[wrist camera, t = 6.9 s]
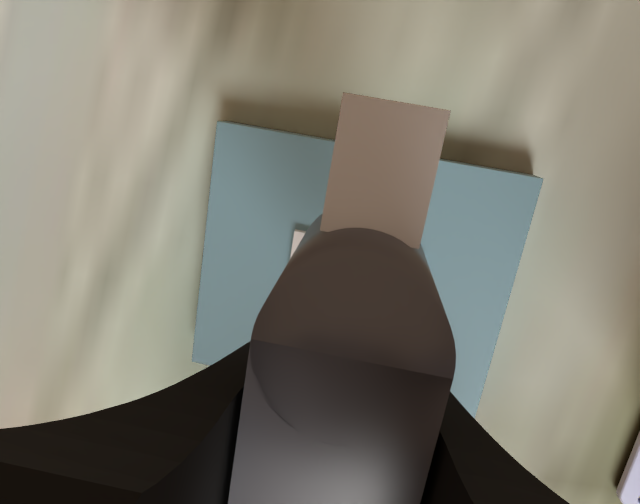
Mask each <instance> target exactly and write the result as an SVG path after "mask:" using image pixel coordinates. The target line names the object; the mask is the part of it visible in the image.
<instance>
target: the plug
mask: <svg viewBox="0 0 640 504" xmlns="http://www.w3.org/2000/svg"><path fill="white" fill-rule="evenodd" d="M449 116H450V110H444V109H438V108H432V107H426V106H421V105H415V104H409V103H403V102H397V101H391V100H385V99H379V98H373V97H368V96H362V95H356V94H350V93H344V92H343V96H342V102H341V108H340V114H339V120H338V126H337V132H336V138H335V143H334V149H333V155H332V161H331V167H330V173H329V179H328V185H327V191H326V197H325V202H324V208H323V213H322V214H321V215H320V216H319V217H318V218H317V219H316V220H315V221H314V222H313V223H312V224H311V225H310V227H309V228H308V229H307V231H306V233H305V234H304V236H303V238H302V240H301V241H300V243H299V245H298V246H297V248H296V250H295V252H294V253H293V255H292V257H291V258H290V260H289V262H288V263H287V265H286V267H285V269H284V270H283V272H282V274H281V275H280V277H279V279H278V281H277V282H276V284H275V286H274V287H273V289H272V291H271V292H270V294H269V296H268V298H267V299H266V301H265V303H264V304H263V306H262V308H261V310H260V312H259V314H258V315H257V318H256V321H255V324H254V326H253V331H252V335H251V341H250V348H249V355H248V362H247V369H246V376H245V384H244V391H243V398H242V405H241V412H240V420H239V427H238V434H237V441H236V448H235V456H234V463H233V470H232V477H231V484H230V492H229V499H228V504H420V502H421V498H422V495H423V491H424V487H425V483H426V480H427V476H428V472H429V468H430V465H431V461H432V457H433V453H434V450H435V446H436V442H437V438H438V435H439V431H440V427H441V423H442V420H443V416H444V412H445V408H446V405H447V401H448V397H449V393H450V390H451V386H452V382H453V378H454V373H455V367H456V349H455V341H454V337H453V333H452V329H451V326H450V324H449V321H448V318H447V315H446V313H445V310H444V307H443V304H442V301H441V299H440V296H439V293H438V290H437V287H436V285H435V282H434V279H433V276H432V274H431V271H430V268H429V265H428V262H427V260H426V257H425V254H424V251H423V249H422V246H421V239H422V234H423V230H424V226H425V221H426V217H427V212H428V208H429V204H430V199H431V195H432V190H433V186H434V182H435V177H436V173H437V169H438V164H439V160H440V155H441V151H442V147H443V142H444V138H445V133H446V129H447V125H448V120H449Z"/></svg>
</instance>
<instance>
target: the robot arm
mask: <svg viewBox="0 0 640 504" xmlns="http://www.w3.org/2000/svg"><path fill="white" fill-rule="evenodd" d="M249 348H250V342H248V343H246V344H245V345H243V346H241V347H240V348H238V349H237V350H235V351H234V352H232V353H230V354H229V355H227V356H226V357H224V358H222V359H221V360H219V361H217V362H216V363H214V364H212V365H211V366H209V367H207V368H206V369H204V370H202V371H200V372H198V373H196V374H194V375H192V376H190V377H188V378H186V379H184V380H182V381H180V382H178V383H176V384H174V385H172V386H170V387H168V388H165V389H163V390H161V391H158V392H156V393H153V394H150V395H148V396H145V397H142V398H140V399H137V400H134V401H131V402H128V403H125V404H121V405H118V406H114V407H111V408H107V409H104V410H100V411H97V412H93V413H90V414H86V415H82V416H77V417H72V418H68V419H63V420H58V421H52V422H47V423H41V424H35V425H29V426H22V427H14V428H5V429H0V504H228V499H229V492H230V484H231V477H232V470H233V463H234V456H235V448H236V441H237V434H238V427H239V420H240V412H241V405H242V398H243V391H244V384H245V376H246V369H247V362H248V355H249ZM616 493H617V496H618V498H619V499H620V501H621V502H622V503H623V504H640V498H639V496H640V431H639V434H638V436H637V439H636V442H635V444H634V447H633V449H632V452H631V454H630V457H629V459H628V462H627V464H626V467H625V469H624V472H623V474H622V477H621V480H620V482H619V485H618V487H617V491H616ZM420 504H569V503H568V502H566V501H565V500H564V499H562V498H561V497H560V496H558V495H557V494H556V493H554V492H553V491H552V490H551V489H549V488H548V487H547V486H546V485H544V484H543V483H542V482H541V481H540V480H538V479H537V478H536V477H535V476H533V475H532V474H531V473H530V472H529V471H527V470H526V469H525V468H524V467H523V466H522V465H520V464H519V463H518V462H517V461H516V460H515V459H514V458H513V457H512V456H511V455H510V454H509V453H508V452H506V451H505V450H504V449H503V448H502V447H501V446H500V445H499V444H498V443H497V442H496V441H495V440H494V439H493V438H492V437H491V436H490V435H489V434H488V433H487V432H486V431H485V430H484V429H483V428H482V426H481V425H480V424H479V423H478V422H477V421H476V420H475V419H474V418H473V417H472V416H471V414H470V413H469V412H468V411H467V410H466V409H465V408H464V407H463V405H462V404H461V403H460V402H459V401H458V400H457V398H456V397H455V396H454V395H453V394H452V393H451V392H450V393H449V397H448V401H447V405H446V408H445V412H444V416H443V420H442V423H441V427H440V431H439V435H438V438H437V442H436V446H435V450H434V453H433V457H432V461H431V465H430V468H429V472H428V476H427V480H426V483H425V487H424V491H423V495H422V498H421V502H420Z"/></svg>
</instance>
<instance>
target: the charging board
mask: <svg viewBox="0 0 640 504" xmlns="http://www.w3.org/2000/svg"><path fill="white" fill-rule="evenodd" d="M334 143H335V140H332V139H326V138H321V137H315V136H309V135H303V134H298V133H292V132H286V131H281V130H275V129H269V128H264V127H258V126H252V125H247V124H241V123H235V122H230V121H217V128H216V137H215V146H214V156H213V165H212V175H211V184H210V194H209V203H208V213H207V222H206V231H205V241H204V250H203V260H202V269H201V279H200V288H199V298H198V307H197V316H196V326H195V335H194V345H193V354H192V362H197V363H201V364H206V365H212V364H214V363H216V362H217V361H219V360H221V359H222V358H224V357H226V356H227V355H229V354H230V353H232V352H234V351H235V350H237V349H238V348H240V347H241V346H243V345H245V344H246V343H248V342H250V341H251V335H252V331H253V326H254V324H255V321H256V318H257V315H258V314H259V312H260V310H261V308H262V306H263V304H264V303H265V301H266V299H267V298H268V296H269V294H270V292H271V291H272V289H273V287H274V286H275V284H276V282H277V281H278V279H279V277H280V275H281V274H282V272H283V270H284V269H285V267H286V265H287V263H288V262H289V260H290V258H291V257H292V255H293V253H294V252H295V250H296V248H297V246H298V245H299V243H300V241H301V240H302V238H303V236H304V234H305V233H306V231H307V229H308V228H309V227H310V225H311V224H312V223H313V222H314V221H315V220H316V219H317V218H318V217H319V216H320V215H321V214H322V213H323V208H324V202H325V197H326V191H327V185H328V179H329V173H330V167H331V161H332V155H333V149H334ZM542 182H543V178H540V177H537V176H535V175H531V174H525V173H519V172H514V171H508V170H502V169H497V168H491V167H485V166H480V165H474V164H468V163H463V162H457V161H451V160H446V159H440V160H439V164H438V169H437V173H436V177H435V182H434V186H433V190H432V195H431V199H430V204H429V208H428V212H427V217H426V221H425V226H424V230H423V234H422V239H421V246H422V249H423V251H424V254H425V257H426V260H427V262H428V265H429V268H430V271H431V274H432V276H433V279H434V282H435V285H436V287H437V290H438V293H439V296H440V299H441V301H442V304H443V307H444V310H445V313H446V315H447V318H448V321H449V324H450V326H451V329H452V333H453V337H454V341H455V349H456V367H455V373H454V378H453V382H452V386H451V390H450V392H451V393H452V394H453V395H454V396H455V397H456V398H457V400H458V401H459V402H460V403H461V404H462V405H463V407H464V408H465V409H466V410H467V411H468V412H469V413H470V414H471V416H472V417H473V418H475V415H476V411H477V408H478V405H479V401H480V398H481V394H482V391H483V387H484V384H485V380H486V377H487V373H488V370H489V366H490V363H491V359H492V356H493V352H494V349H495V345H496V342H497V339H498V335H499V332H500V328H501V325H502V321H503V318H504V314H505V311H506V307H507V304H508V300H509V297H510V293H511V290H512V286H513V283H514V279H515V276H516V272H517V269H518V266H519V262H520V259H521V255H522V252H523V248H524V245H525V241H526V238H527V234H528V231H529V227H530V224H531V220H532V217H533V213H534V210H535V206H536V203H537V199H538V196H539V193H540V189H541V186H542Z"/></svg>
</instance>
